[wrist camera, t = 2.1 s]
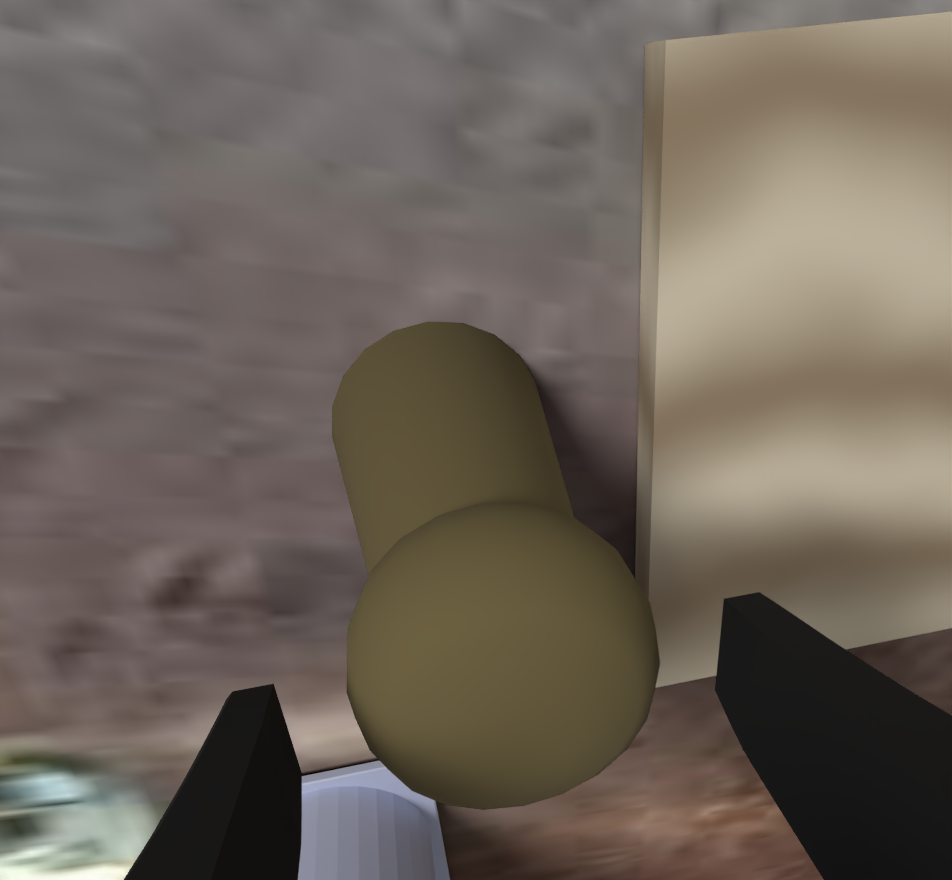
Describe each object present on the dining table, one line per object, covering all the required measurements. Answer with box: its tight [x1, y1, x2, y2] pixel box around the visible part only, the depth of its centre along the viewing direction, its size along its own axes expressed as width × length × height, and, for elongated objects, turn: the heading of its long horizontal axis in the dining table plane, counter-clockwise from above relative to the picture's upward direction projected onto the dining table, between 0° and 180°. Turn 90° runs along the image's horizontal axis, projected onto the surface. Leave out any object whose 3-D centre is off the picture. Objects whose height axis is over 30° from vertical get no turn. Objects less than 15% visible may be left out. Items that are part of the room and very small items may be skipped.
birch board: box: [635, 12, 952, 688], centre depth 21 cm, size 20×14×1 cm
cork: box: [332, 322, 660, 810], centre depth 15 cm, size 6×6×11 cm
